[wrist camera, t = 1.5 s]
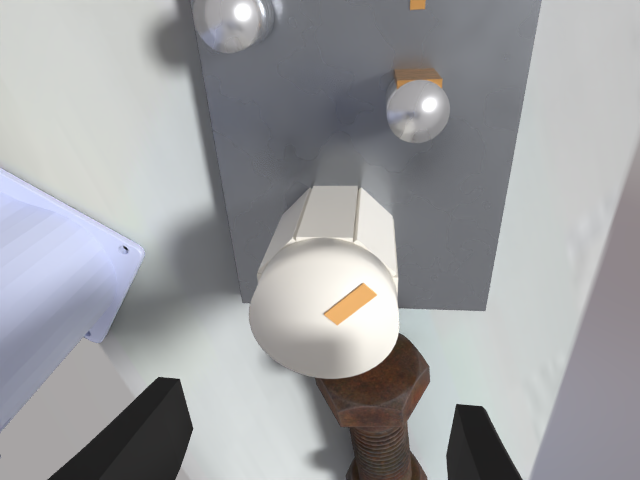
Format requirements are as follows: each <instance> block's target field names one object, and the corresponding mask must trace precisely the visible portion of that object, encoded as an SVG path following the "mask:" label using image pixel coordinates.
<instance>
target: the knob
mask: <svg viewBox="0 0 640 480" xmlns="http://www.w3.org/2000/svg"><path fill="white" fill-rule="evenodd" d="M257 279H258V285H257V287H256V290H255V292H254V295H253V297H252V299H251V303H250V307H249V322H250V326H251V330H252V333H253V335H254V337H255V339H256V341H257V342H258V344H259V345H260V347H261V348H262V349H263V350H264V351H265V352H266V353H267V354H268V355H269V356H270V357H271V358H272V359H273V360H275V361H276V362H277V363H279V364H281V365H282V366H284V367H286V368H288V369H290V370H292V371H294V372H297V373H299V374H303V375H306V376H310V377H316V378H324V379H338V378H346V377H351V376H355V375H358V374H361V373H364V372H366V371H369V370H370V369H372V368H374V367H376V366H377V365H378V364H380V363H381V362H382V361H383V360H384V359H385V358H386V357H387V356H388V355H389V353H390V352H391V351H392V349H393V347H394V345H395V344H396V341H397V338H398V333H399V314H398V300H397V294H398V267H397V255H396V242H395V229H394V219H393V217H392V215H391V214H390V213H389V212H388V211H387V210H385V209H384V208H383V207H382V206H381V205H380V204H379V203H378V202H377V201H376V200H375V199H374V198H373V197H371V196H370V195H369V194H368V193H367V192H366V191H365V190H364V189H363V188H362V187H361V188H360V189H359V190H358V186H313V188H312V189H311V188H309V189H308V190H307V191H306V192H305V193H304V194H303V195H302V196H301V197H300V198H299V199H298V200H297V201H296V202H295V203H294V204H293V205H292V206H291V207H290V208H289V209H288V210H287V211H286V212H285V213H284V214H283V215H282V217H281V219H280V221H279V223H278V226H277V228H276V230H275V233H274V235H273V237H272V240H271V242H270V244H269V247H268V249H267V251H266V253H265V256H264V258H263V260H262V263H261V265H260V267H259V270H258V273H257Z"/></svg>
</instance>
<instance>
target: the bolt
mask: <svg viewBox="0 0 640 480" xmlns="http://www.w3.org/2000/svg"><path fill="white" fill-rule="evenodd" d="M315 379H316V384H317V386H318V388H319V389H320V391H321V393H322V395H323V396H324V398H325V400H326V402H327V403H328V405H329V407H330V409H331V411H332V412H333V414H334V416H335V418H336V419H337V421H338V423H339V425H340V426H341V427H349V428H350V434H351V439H352V445H353V449H354V453H355V458H354V460H353V462H352V464H351V465H350V467H349V470H348V472H347V474H346V480H427V476H426V474H425V473H424V471H423V469H422V467H421V466H420V464H419V462H418V461H417V459H416V458H415V456H414V455H413V454H412V452H411V451H410V448H409V437H408V427H407V420H408V419H409V417H410V415H411V414H412V412H413V410H414V408H415V407H416V405H417V403H418V402H419V400H420V398H421V396H422V395H423V393H424V391H425V390H426V388H427V386H428V384H429V383H430V372H429V366H428V364H427V362H426V361H425V359H424V358H423V356H422V355H421V354H420V352H419V351H418V350H417V349H416V347H415V346H414V345H413V344H412V343H411V342H410V341H409V340H408V339H407V338H406V337H405V336H403V335H402V334H400V333H398V338H397V341H396V344H395V345H394V347H393V349H392V351H391V352H390V353H389V355H388V356H387V357H386V358H385V359H384V360H383V361H382V362H381V363H380V364H378V365H377V366H376V367H374V368H372V369H370V370H369V371H366V372H364V373H361V374H358V375H355V376H351V377H346V378H338V379H324V378H316V377H315Z"/></svg>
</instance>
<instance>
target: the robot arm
mask: <svg viewBox="0 0 640 480" xmlns="http://www.w3.org/2000/svg"><path fill="white" fill-rule="evenodd" d="M123 246H125V247H127V248H128V250H129V251H128V250H126V249H124V248H123ZM144 257H145V250H144V249H143V247H141V246H140V245H139V244H137V243H135V242H133V241H131V240H130V239H128V238H126V237H124V236H122V235H121V234H119V233H117V232H115V231H113V230H112V229H110V228H108V227H106V226H104V225H103V224H101V223H99V222H97V221H95V220H94V219H92V218H90V217H88V216H86V215H85V214H83V213H81V212H79V211H77V210H76V209H74V208H72V207H70V206H68V205H67V204H65V203H63V202H61V201H59V200H58V199H56V198H54V197H52V196H50V195H48V194H47V193H45V192H43V191H41V190H39V189H38V188H36V187H34V186H32V185H30V184H29V183H27V182H25V181H23V180H21V179H20V178H18V177H16V176H14V175H12V174H11V173H9V172H7V171H5V170H3V169H2V168H0V433H1V431H2V430H3V429H4V428H5V427H6V426H7V424H8V423H9V422H10V421H11V420H12V419H13V417H14V416H15V415H16V414H17V413H18V412H19V410H20V409H21V408H22V407H23V406H24V405H25V404H26V403H27V401H28V400H29V399H30V398H31V397H32V396H33V394H34V393H35V392H36V391H37V390H38V389H39V388H40V386H41V385H42V384H43V383H44V382H45V381H46V379H47V378H48V377H49V376H50V375H51V374H52V372H53V371H54V370H55V369H56V368H57V367H58V366H59V364H60V363H61V362H62V361H63V360H64V359H65V357H66V356H67V355H68V354H69V353H70V352H71V350H72V349H73V348H74V347H75V346H76V345H77V344H78V342H79V341H80V340H81V339H82V338H83V337H84V338H86V339H88V340H90V341H92V342H95V343H100V342H102V341H103V340H104V338H105V337H106V335H107V333H108V331H109V329H110V327H111V325H112V323H113V321H114V319H115V317H116V315H117V312H118V310H119V308H120V306H121V304H122V302H123V300H124V298H125V296H126V294H127V292H128V290H129V288H130V286H131V284H132V282H133V280H134V277H135V275H136V273H137V271H138V269H139V267H140V265H141V263H142V261H143V259H144ZM192 431H193V426H192V422H191V419H190V415H189V411H188V408H187V404H186V400H185V397H184V393H183V389H182V385H181V382H180V379H175V378H164V377H158V378H157V379H156V380H155V381H154V382H153V383H151V384H150V385H149V386H148V387H147V388H146V389H145V390H144V391H143V392H142V393H141V394H140V395H139V396H138V397H137V398H136V399H135V400H134V401H133V402H132V403H131V404H130V405H129V406H128V407H127V408H126V409H125V410H124V411H123V412H121V413H120V414H119V416H117V417H116V418H115V419H114V420H113V421H112V422H111V423H110V424H109V425H108V426H107V427H106V428H105V429H104V430H102V431H101V432H100V433H99V434H98V435H97V436H96V437H95V438H94V439H93V440H92V441H91V442H90V443H89V444H87V445H86V447H84V448H83V449H82V450H81V451H80V452H79V453H78V454H77V455H75V456H74V457H73V458H72V459H71V460H69V461H68V462H67V463H66V464H65V465H64V466H63V467H61V468H60V469H59V470H58V471H57V472H56V473H54V474H53V475H52V476H51V477H50V478H49V479H48V480H175V479H176V476H177V474H178V472H179V470H180V467H181V464H182V461H183V459H184V456H185V453H186V450H187V447H188V443H189V440H190V437H191V434H192ZM0 457H1V455H0ZM446 458H447V471H448V480H523V479H522V478H521V476H520V474H519V473H518V471H517V469H516V467H515V466H514V464H513V462H512V460H511V458H510V456H509V455H508V453H507V451H506V449H505V447H504V445H503V444H502V442H501V440H500V438H499V436H498V434H497V432H496V430H495V428H494V426H493V424H492V422H491V420H490V418H489V416H488V414H487V411H486V410H485V409H484V408H483V407H482V406H472V405H461V404H456V408H455V414H454V419H453V424H452V429H451V434H450V439H449V444H448V449H447V454H446Z"/></svg>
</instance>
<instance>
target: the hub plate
mask: <svg viewBox="0 0 640 480" xmlns="http://www.w3.org/2000/svg"><path fill="white" fill-rule="evenodd" d="M190 3H191V9H192V15H193V20H194V26H195V32H196V38H197V44H198V49H199V55H200V61H201V67H202V72H203V78H204V84H205V90H206V95H207V101H208V107H209V113H210V118H211V124H212V130H213V136H214V142H215V147H216V153H217V159H218V165H219V170H220V176H221V182H222V188H223V193H224V199H225V205H226V211H227V216H228V222H229V228H230V234H231V240H232V245H233V251H234V257H235V263H236V268H237V274H238V280H239V286H240V291H241V297H242V303H251V299H252V297H253V295H254V292H255V290H256V287H257V285H258V279H257V273H258V270H259V267H260V265H261V263H262V260H263V258H264V256H265V253H266V251H267V249H268V247H269V244H270V242H271V240H272V237H273V235H274V233H275V230H276V228H277V226H278V223H279V221H280V219H281V217H282V215H283V214H284V213H285V212H286V211H287V210H288V209H289V208H290V207H291V206H292V205H293V204H294V203H295V202H296V201H297V200H298V199H299V198H300V197H301V196H302V195H303V194H304V193H305V192H306V191H307V190H308V189H309V188H311V189H312V188H313V186H358V190H359V189H360V188H361V187H362V188H363V189H364V190H365V191H366V192H367V193H368V194H369V195H370V196H371V197H373V198H374V199H375V200H376V201H377V202H378V203H379V204H380V205H381V206H382V207H383V208H384V209H385V210H387V211H388V212H389V213H390V214H391V215H392V217H393V219H394V229H395V242H396V255H397V267H398V294H397V300H398V308H409V309H439V310H469V311H485V310H486V304H487V299H488V293H489V288H490V282H491V277H492V271H493V266H494V260H495V255H496V249H497V244H498V238H499V233H500V227H501V222H502V216H503V210H504V205H505V199H506V194H507V188H508V183H509V177H510V172H511V166H512V161H513V155H514V150H515V144H516V139H517V133H518V128H519V122H520V116H521V111H522V105H523V100H524V94H525V89H526V83H527V78H528V72H529V67H530V61H531V56H532V50H533V45H534V39H535V34H536V28H537V23H538V17H539V11H540V6H541V0H190Z"/></svg>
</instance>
